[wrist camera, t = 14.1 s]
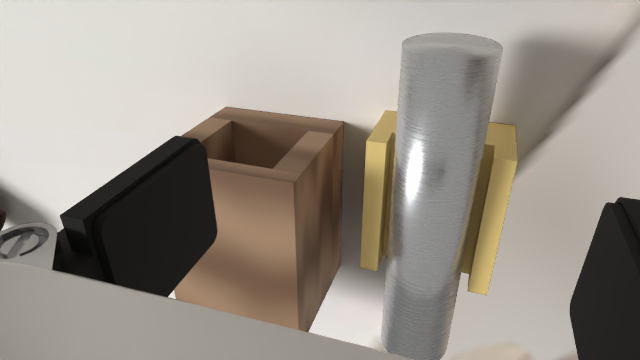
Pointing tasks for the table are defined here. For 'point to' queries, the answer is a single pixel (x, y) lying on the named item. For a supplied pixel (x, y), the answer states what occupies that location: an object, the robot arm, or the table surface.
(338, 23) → the table surface
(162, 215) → the robot arm
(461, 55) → the steel axle
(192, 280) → the walnut block
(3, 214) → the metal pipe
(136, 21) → the table surface
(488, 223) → the ochre V-block
